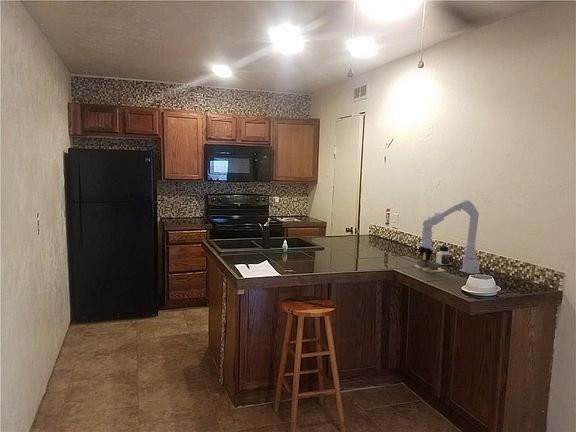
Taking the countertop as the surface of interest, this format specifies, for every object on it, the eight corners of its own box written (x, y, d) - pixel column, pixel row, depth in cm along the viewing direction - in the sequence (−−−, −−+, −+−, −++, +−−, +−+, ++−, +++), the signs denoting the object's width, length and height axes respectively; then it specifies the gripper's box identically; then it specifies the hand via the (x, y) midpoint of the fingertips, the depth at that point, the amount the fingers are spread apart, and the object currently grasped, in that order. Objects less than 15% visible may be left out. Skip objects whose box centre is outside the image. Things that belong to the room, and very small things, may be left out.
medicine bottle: (441, 264, 291) (442, 246, 289) (435, 262, 298) (436, 244, 296) (451, 264, 292) (452, 246, 291) (445, 262, 299) (446, 244, 298)
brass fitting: (429, 263, 280) (430, 252, 279) (424, 263, 279) (425, 252, 278) (426, 262, 283) (426, 251, 283) (421, 262, 282) (422, 251, 281)
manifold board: (445, 271, 272) (445, 265, 271) (430, 272, 268) (430, 266, 267) (427, 265, 287) (428, 259, 287) (413, 266, 284) (413, 260, 283)
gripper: (414, 236, 285) (413, 257, 286) (428, 240, 271) (427, 262, 273) (423, 236, 287) (422, 257, 289) (438, 240, 274) (437, 261, 275)
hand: (425, 259), depth 281 cm, fingers closed on brass fitting, 3 cm apart
